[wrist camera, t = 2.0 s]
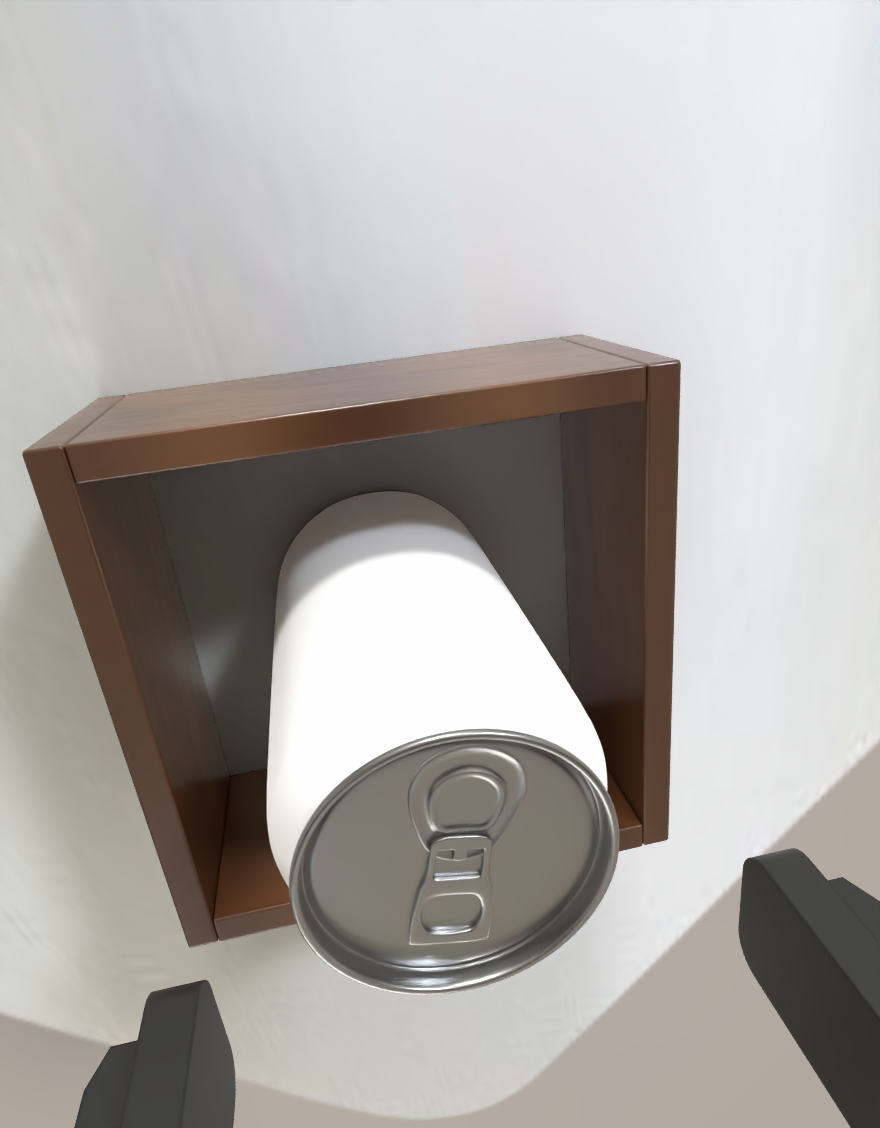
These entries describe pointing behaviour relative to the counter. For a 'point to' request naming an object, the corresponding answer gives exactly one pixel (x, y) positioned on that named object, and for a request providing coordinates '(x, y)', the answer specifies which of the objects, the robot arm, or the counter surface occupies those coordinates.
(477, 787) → the can
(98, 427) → the crate
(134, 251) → the counter surface
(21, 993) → the counter surface
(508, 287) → the counter surface
